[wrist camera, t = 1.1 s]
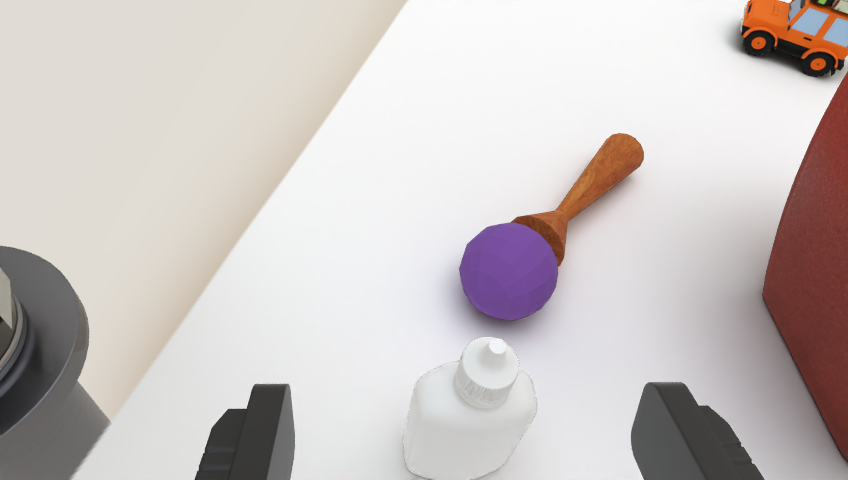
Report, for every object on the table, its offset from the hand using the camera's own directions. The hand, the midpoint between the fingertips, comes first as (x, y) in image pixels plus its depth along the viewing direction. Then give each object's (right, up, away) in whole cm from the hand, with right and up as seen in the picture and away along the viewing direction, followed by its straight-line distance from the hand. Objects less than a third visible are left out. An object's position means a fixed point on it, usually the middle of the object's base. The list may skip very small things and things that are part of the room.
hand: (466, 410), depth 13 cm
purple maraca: (+8, +4, +30) cm, 31 cm away
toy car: (+37, +23, +49) cm, 65 cm away
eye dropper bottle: (+1, -8, +19) cm, 21 cm away
